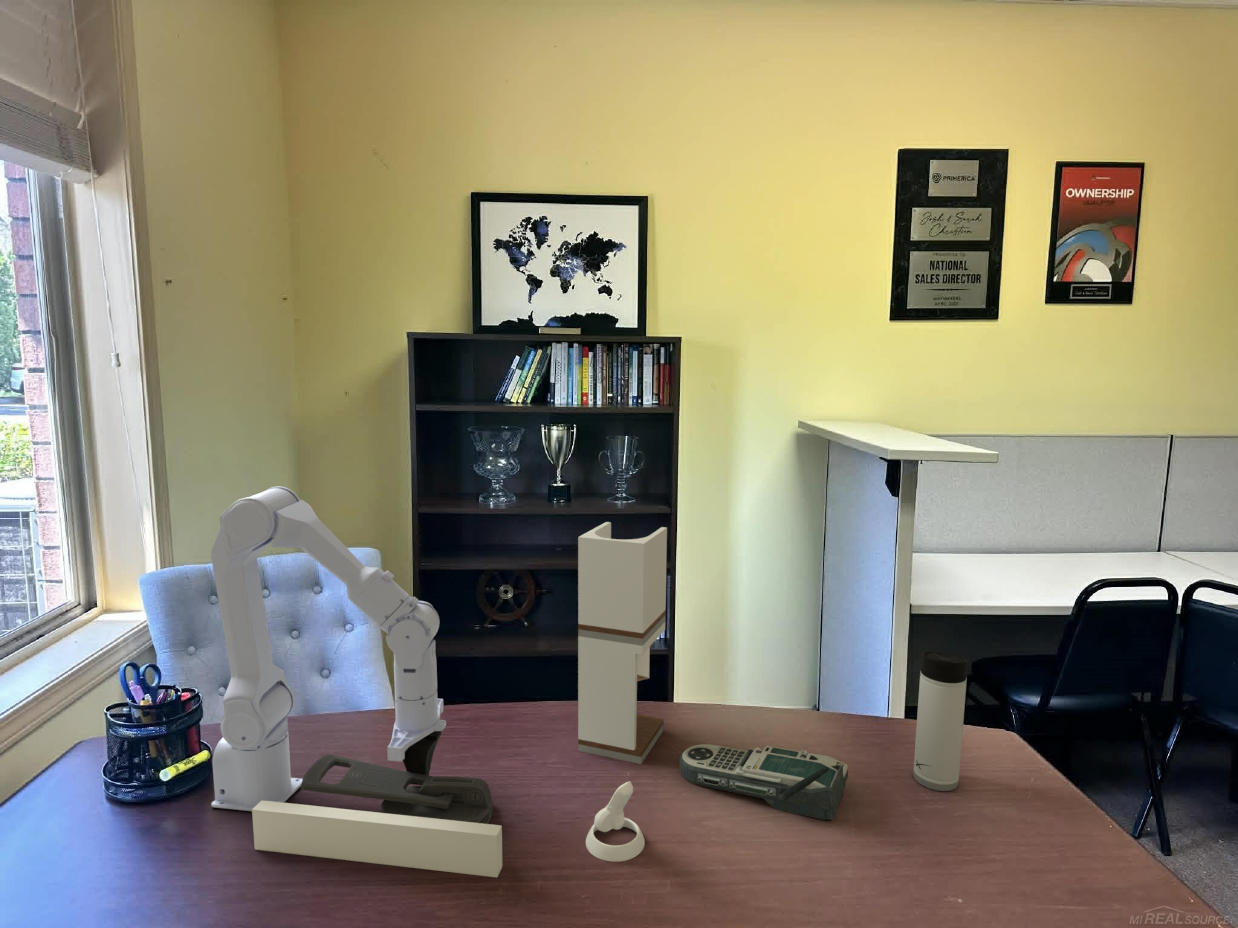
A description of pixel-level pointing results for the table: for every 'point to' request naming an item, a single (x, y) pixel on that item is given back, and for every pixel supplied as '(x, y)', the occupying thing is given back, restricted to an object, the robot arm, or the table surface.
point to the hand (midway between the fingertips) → (418, 782)
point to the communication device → (770, 776)
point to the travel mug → (940, 720)
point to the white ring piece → (615, 820)
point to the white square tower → (618, 639)
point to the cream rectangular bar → (378, 838)
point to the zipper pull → (405, 790)
